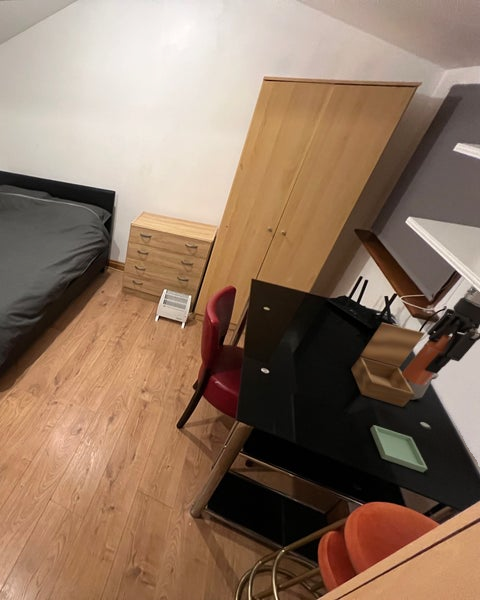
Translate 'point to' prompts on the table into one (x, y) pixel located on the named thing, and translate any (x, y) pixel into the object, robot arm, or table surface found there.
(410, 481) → the table surface
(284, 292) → the table surface
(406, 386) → the chest
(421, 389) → the salt shaker
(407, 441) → the tray
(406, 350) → the lid
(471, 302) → the robot arm
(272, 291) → the table surface
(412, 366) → the bottle
